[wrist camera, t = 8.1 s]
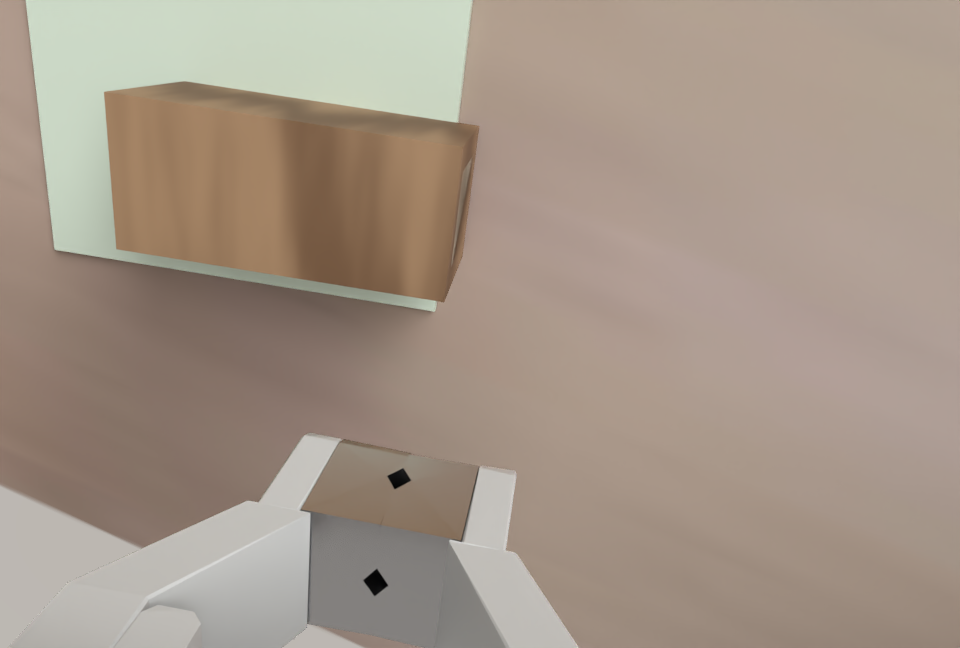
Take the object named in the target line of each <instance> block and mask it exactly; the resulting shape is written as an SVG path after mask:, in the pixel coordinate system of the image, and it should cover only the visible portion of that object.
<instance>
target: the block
mask: <svg viewBox="0 0 960 648" xmlns="http://www.w3.org/2000/svg"><path fill="white" fill-rule="evenodd" d="M104 100H105V112H106V125H107V137H108V150H109V163H110V175H111V188H112V201H113V213H114V226H115V239H116V249H118V250H124V251H130V252H136V253H142V254H149V255H155V256H161V257H167V258H173V259H179V260H186V261H192V262H198V263H204V264H210V265H217V266H223V267H229V268H235V269H241V270H247V271H254V272H260V273H266V274H272V275H278V276H285V277H291V278H297V279H303V280H309V281H315V282H322V283H328V284H334V285H340V286H346V287H353V288H359V289H365V290H371V291H377V292H383V293H390V294H396V295H402V296H408V297H414V298H421V299H427V300H433V301H439V302H444V301H445V299H446V296H447V294H448V291H449V289H450V286H451V283H452V281H453V278H454V276H455V273H456V271H457V268H458V266H459V263H460V261H461V258H462V254H463V247H464V239H465V231H466V224H467V216H468V208H469V201H470V193H471V185H472V178H473V170H474V162H475V155H476V147H477V139H478V132H479V126H475V125H469V124H462V123H456V122H449V121H443V120H436V119H430V118H423V117H416V116H410V115H403V114H397V113H390V112H384V111H377V110H371V109H364V108H357V107H351V106H344V105H338V104H331V103H325V102H318V101H312V100H305V99H298V98H292V97H285V96H279V95H272V94H266V93H259V92H253V91H246V90H240V89H233V88H226V87H220V86H213V85H207V84H200V83H194V82H187V81H182V82H174V83H167V84H159V85H151V86H144V87H136V88H129V89H121V90H113V91H106V92H104Z"/></svg>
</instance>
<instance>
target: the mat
mask: <svg viewBox="0 0 960 648" xmlns="http://www.w3.org/2000/svg"><path fill="white" fill-rule="evenodd" d="M472 4H473V0H26V7H27V15H28V24H29V33H30V41H31V50H32V59H33V67H34V76H35V85H36V93H37V102H38V110H39V119H40V128H41V136H42V145H43V154H44V162H45V171H46V180H47V188H48V197H49V205H50V214H51V223H52V231H53V240H54V249H55V250H59V251H65V252H72V253H78V254H84V255H90V256H96V257H102V258H108V259H115V260H121V261H127V262H133V263H139V264H145V265H151V266H158V267H164V268H170V269H176V270H182V271H188V272H194V273H201V274H207V275H213V276H219V277H225V278H231V279H237V280H243V281H250V282H256V283H262V284H268V285H274V286H280V287H286V288H293V289H299V290H305V291H311V292H317V293H323V294H329V295H336V296H342V297H348V298H354V299H360V300H366V301H372V302H379V303H385V304H391V305H397V306H403V307H409V308H415V309H422V310H428V311H434V312H435V310H436V306H437V301H433V300H427V299H421V298H414V297H408V296H402V295H396V294H390V293H383V292H377V291H371V290H365V289H359V288H353V287H346V286H340V285H334V284H328V283H322V282H315V281H309V280H303V279H297V278H291V277H285V276H278V275H272V274H266V273H260V272H254V271H247V270H241V269H235V268H229V267H223V266H217V265H210V264H204V263H198V262H192V261H186V260H179V259H173V258H167V257H161V256H155V255H149V254H142V253H136V252H130V251H124V250H118V249H116V239H115V226H114V213H113V201H112V188H111V175H110V163H109V150H108V137H107V125H106V112H105V100H104V92H106V91H113V90H121V89H129V88H136V87H144V86H151V85H159V84H167V83H174V82H182V81H187V82H194V83H200V84H207V85H213V86H220V87H226V88H233V89H240V90H246V91H253V92H259V93H266V94H272V95H279V96H285V97H292V98H298V99H305V100H312V101H318V102H325V103H331V104H338V105H344V106H351V107H357V108H364V109H371V110H377V111H384V112H390V113H397V114H403V115H410V116H416V117H423V118H430V119H436V120H443V121H449V122H456V123H458V122H459V114H460V105H461V97H462V88H463V80H464V72H465V63H466V55H467V46H468V38H469V30H470V21H471V13H472Z"/></svg>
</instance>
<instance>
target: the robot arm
mask: <svg viewBox="0 0 960 648" xmlns="http://www.w3.org/2000/svg"><path fill="white" fill-rule="evenodd" d="M479 467H480V468H479ZM515 482H516V472H515V470H508V469H502V468H495V467H489V466H482V465H481V466H476V465H471V464H465V463H459V462H454V461H448V460H442V459H437V458H431V457H425V456H420V455H414V454H411V453H408V452H403V451H398V450H393V449H388V448H384V447H379V446H374V445H369V444H365V443H360V442H355V441H350V440H345V439H344V440H342V439H340V438H335V437H330V436H324V435H319V434H314V433H308V434H306V435H304V436H303V437H302V438H301V439H300V441H299V442H298V444H297V445H296V447H295V448H294V450H293V451H292V453H291V454H290V456H289V457H288V459H287V460H286V462H285V463H284V465H283V466H282V467H281V469H280V470H279V472H278V473H277V475H276V476H275V478H274V479H273V481H272V482H271V484H270V485H269V487H268V488H267V490H266V491H265V493H264V494H263V496H262V497H261V498H260V500H259V501H258V502H253V501H245V502H243V503H241V504H239V505H237V506H234V507H232V508H230V509H228V510H226V511H223V512H221V513H219V514H217V515H215V516H212V517H210V518H208V519H206V520H204V521H201V522H199V523H197V524H195V525H193V526H190V527H188V528H186V529H184V530H182V531H179V532H177V533H175V534H173V535H171V536H168V537H166V538H164V539H162V540H160V541H157V542H155V543H153V544H151V545H149V546H146V547H144V548H142V549H140V550H138V551H135V552H133V553H131V554H129V555H127V556H124V557H122V558H120V559H118V560H116V561H113V562H111V563H109V564H107V565H105V566H102V567H100V568H98V569H96V570H94V571H91V572H90V573H87V574H85V575H83V576H80V577H78V578H76V579H74V580H72V581H70V582H68V583H67V584H66V585H65V586H64V587H63V588H62V589H61V590H60V591H59V593H58V594H57V595H56V596H55V597H54V598H53V599H52V600H51V601H50V602H49V604H47V606H46V607H45V608H44V609H43V610H42V611H41V612H40V613H39V614H38V615H37V616H36V618H35V619H34V620H33V621H32V622H31V623H30V624H29V625H28V626H27V627H26V628H25V629H24V631H23V632H22V633H21V634H20V635H19V636H18V637H17V638H16V639H15V640H14V641H13V643H12V644H11V645H10V646H9V647H8V648H282V647H284V646H285V645H286V644H287V643H288V642H290V641H291V640H292V639H294V638H295V637H296V636H297V635H299V634H300V633H301V632H302V631H304V630H305V629H306V628H307V624H311V625H317V626H323V627H328V628H334V629H340V630H345V631H351V632H357V633H362V634H368V635H373V636H377V637H381V638H385V639H390V640H394V641H398V642H402V643H407V644H411V645H415V646H419V647H424V648H579V647H578V646H577V644H576V642H575V641H574V639H573V638H572V636H571V635H570V633H569V632H568V630H567V629H566V627H565V626H564V624H563V623H562V621H561V620H560V618H559V617H558V615H557V614H556V612H555V611H554V609H553V608H552V606H551V605H550V603H549V602H548V600H547V599H546V597H545V596H544V594H543V593H542V591H541V590H540V588H539V587H538V585H537V583H536V582H535V580H534V579H533V577H532V576H531V574H530V573H529V571H528V570H527V568H526V567H525V565H524V564H523V562H522V561H521V559H520V558H519V556H518V555H517V553H514V552H509V551H506V544H507V538H508V531H509V524H510V517H511V510H512V503H513V496H514V489H515Z"/></svg>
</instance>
